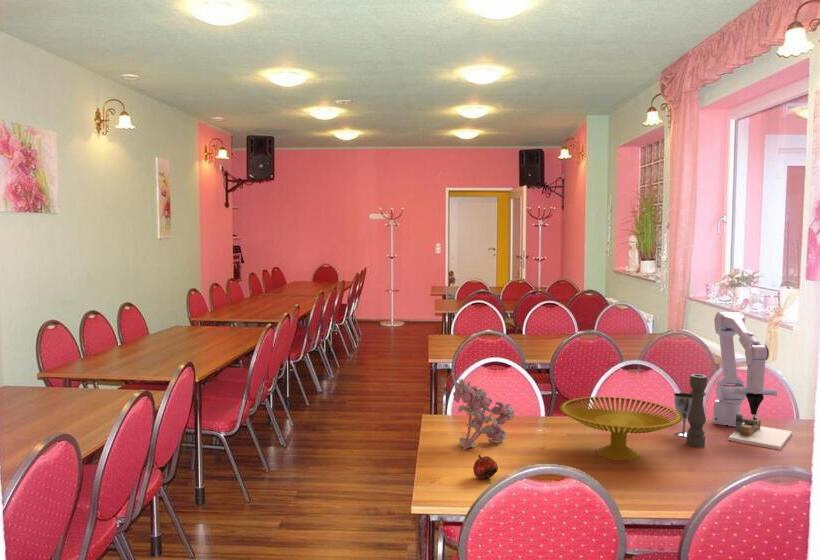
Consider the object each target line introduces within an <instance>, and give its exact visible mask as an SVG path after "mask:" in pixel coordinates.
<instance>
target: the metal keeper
mask: <svg viewBox="0 0 820 560" xmlns="http://www.w3.org/2000/svg"><path fill="white" fill-rule="evenodd" d="M759 420H760V419H759ZM759 420H753V418H746V417H744V414H741V413H740V414H737V415H736V426H735V427H734V428H735V429H734V432H735V431H739V432H740V426H742V425H743V423H749V424H755V425H758V424H759Z"/></svg>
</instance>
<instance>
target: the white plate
mask: <svg viewBox="0 0 820 560" xmlns="http://www.w3.org/2000/svg"><path fill="white" fill-rule="evenodd" d="M743 424H745V423H743ZM792 435H793V431H791V430H786V429H785V430H784V429H780V428H774V427H767V426H761V425H760V429H757V430H756V431H755V432H753V433H752V434H751V435H749V436H746V435H741V434H740V432H739V431H735V430H734V432H732V434H730V435H729V436H728V441H729V440H731V441H730V442H734V441H735V443H741V444H744V445H745V444H746V445H750V444H751V445H752V446H757V447H762V448H768V449H774V450H778V451H781V449H782V448H783V447H784V446H785V444H786V443H787V442H788V440H789V439H791V437H792Z"/></svg>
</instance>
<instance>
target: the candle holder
mask: <svg viewBox="0 0 820 560" xmlns="http://www.w3.org/2000/svg"><path fill="white" fill-rule="evenodd" d="M689 385H690V388H691V391H689V393H690V394H691V396H692V404H691V407H690V411H689V414H688V418H687V422H688V424H689V428H688V429H687V432H688V434H687V437H685V438H686V439H685V440H686V446H688V445H689V447H691V446H693V447H692V448H696V447H701V448H704V447H703V446H705V444H706V443H705V442H706V436H705V434H706V433H705V431H704V429H703V428H704V425H705V424H706V420H707V418H706V413H705V408H704V407H705V406H704V397H706V396H707V394H706V393H707V392H705V390H706V388H707V386H708V376H707V375H705V374H699V373H690V375H689Z"/></svg>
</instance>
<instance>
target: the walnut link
mask: <svg viewBox="0 0 820 560" xmlns="http://www.w3.org/2000/svg"><path fill="white" fill-rule="evenodd" d="M757 420H759V424H758V425H755V424H749V423H745V424H743V425H742V426H740V434H741V435H746V436H749V435H751V434H752V433H753V432H755V431H756V430H757V429H760V426H761V421H762V420H761V419H758V418H757Z"/></svg>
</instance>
